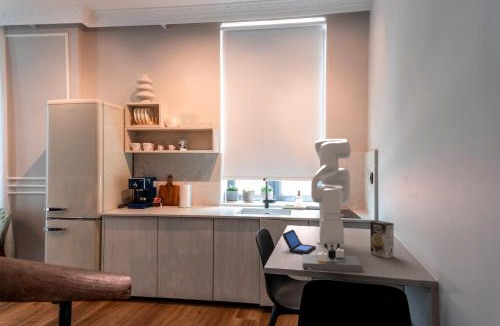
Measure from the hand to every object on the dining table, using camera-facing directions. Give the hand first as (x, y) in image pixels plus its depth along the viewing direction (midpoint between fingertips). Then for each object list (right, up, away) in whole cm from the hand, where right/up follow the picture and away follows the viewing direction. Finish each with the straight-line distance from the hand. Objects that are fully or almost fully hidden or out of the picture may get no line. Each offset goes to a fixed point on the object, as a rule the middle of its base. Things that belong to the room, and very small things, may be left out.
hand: (332, 259), depth 144 cm
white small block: (-4, -1, +1) cm, 4 cm away
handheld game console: (-9, -4, +31) cm, 32 cm away
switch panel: (0, -4, +4) cm, 5 cm away
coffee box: (+29, -4, +19) cm, 35 cm away
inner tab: (+5, -1, +6) cm, 8 cm away
